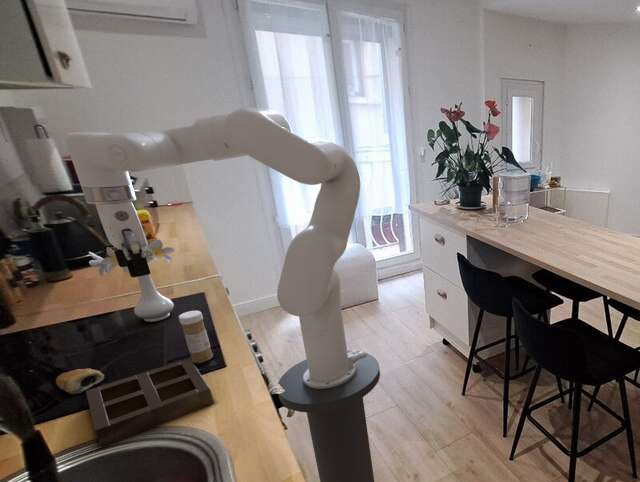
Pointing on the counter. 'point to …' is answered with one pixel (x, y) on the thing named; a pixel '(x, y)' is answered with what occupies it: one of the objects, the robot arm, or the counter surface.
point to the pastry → (79, 380)
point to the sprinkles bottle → (196, 336)
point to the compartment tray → (146, 400)
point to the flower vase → (143, 282)
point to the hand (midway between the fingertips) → (134, 270)
